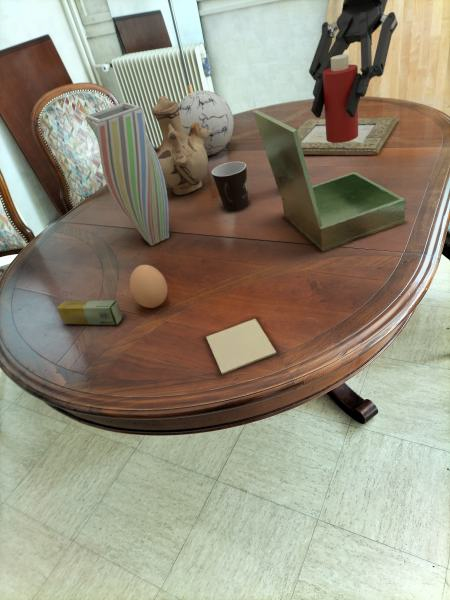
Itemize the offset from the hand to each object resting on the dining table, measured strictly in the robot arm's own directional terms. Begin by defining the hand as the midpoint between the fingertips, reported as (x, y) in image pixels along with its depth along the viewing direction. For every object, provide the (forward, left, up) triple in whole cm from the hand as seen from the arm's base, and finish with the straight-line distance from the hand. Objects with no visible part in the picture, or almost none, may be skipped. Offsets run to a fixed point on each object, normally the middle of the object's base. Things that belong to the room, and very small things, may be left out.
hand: (332, 113), depth 76 cm
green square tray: (+2, -2, -23) cm, 24 cm away
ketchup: (+2, -3, -6) cm, 7 cm away
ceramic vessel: (+45, +24, -24) cm, 56 cm away
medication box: (-3, +54, -24) cm, 59 cm away
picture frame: (+47, -27, -24) cm, 59 cm away
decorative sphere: (+70, +9, -24) cm, 75 cm away
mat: (-24, +31, -23) cm, 46 cm away
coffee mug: (+24, +16, -24) cm, 37 cm away
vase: (+22, +37, -24) cm, 49 cm away
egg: (-5, +42, -24) cm, 49 cm away
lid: (+2, +9, -8) cm, 12 cm away
